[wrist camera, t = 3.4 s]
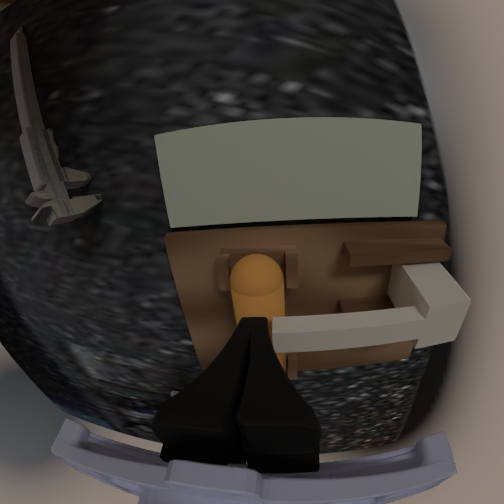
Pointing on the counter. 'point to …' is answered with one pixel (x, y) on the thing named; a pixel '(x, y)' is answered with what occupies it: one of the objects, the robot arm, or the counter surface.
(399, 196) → the mat
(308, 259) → the clamp board
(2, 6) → the candy box
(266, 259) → the orange sausage
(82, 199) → the caliper
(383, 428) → the counter surface
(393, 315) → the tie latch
